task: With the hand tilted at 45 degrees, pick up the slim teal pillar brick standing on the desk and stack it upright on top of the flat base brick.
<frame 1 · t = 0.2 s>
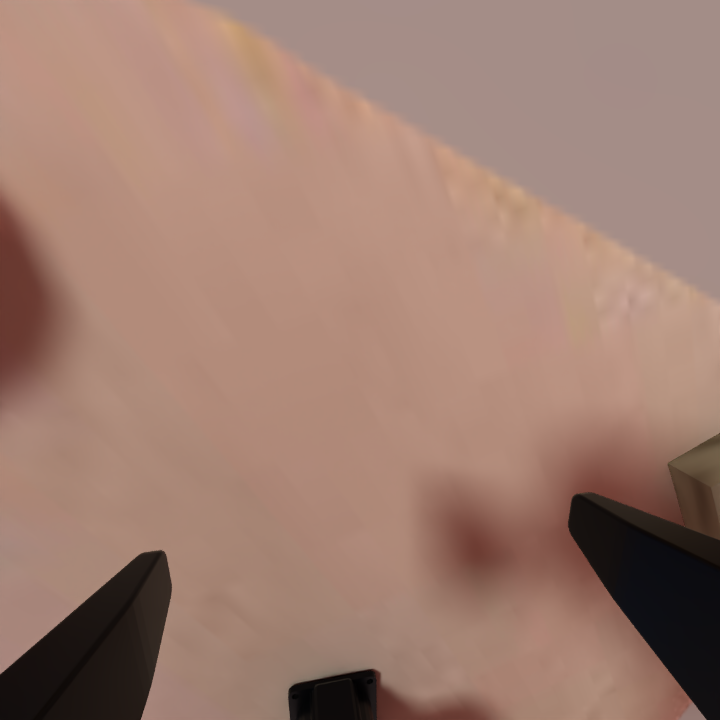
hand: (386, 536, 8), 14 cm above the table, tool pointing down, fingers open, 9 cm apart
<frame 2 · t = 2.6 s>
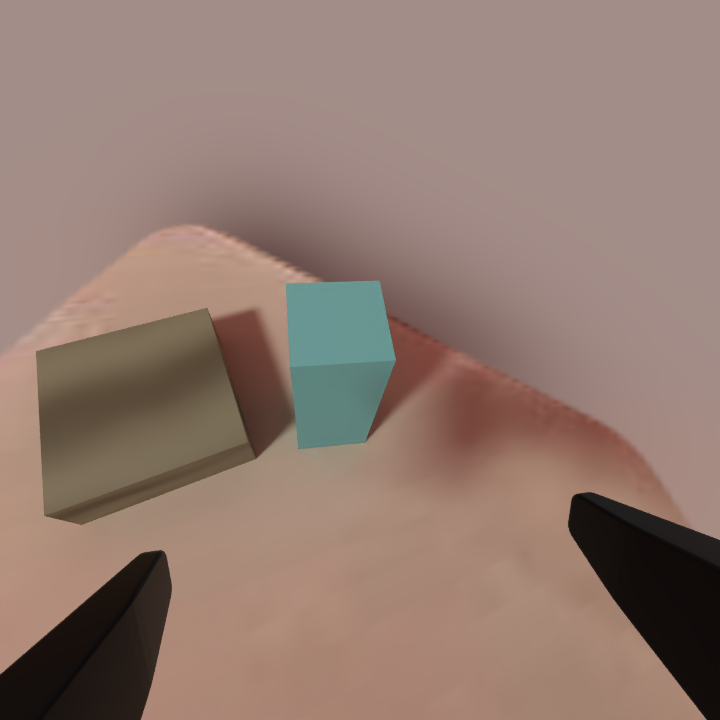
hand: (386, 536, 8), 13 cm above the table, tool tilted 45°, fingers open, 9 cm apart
pillar brick: (329, 414, 24), on the table
base brick: (161, 419, 23), on the table
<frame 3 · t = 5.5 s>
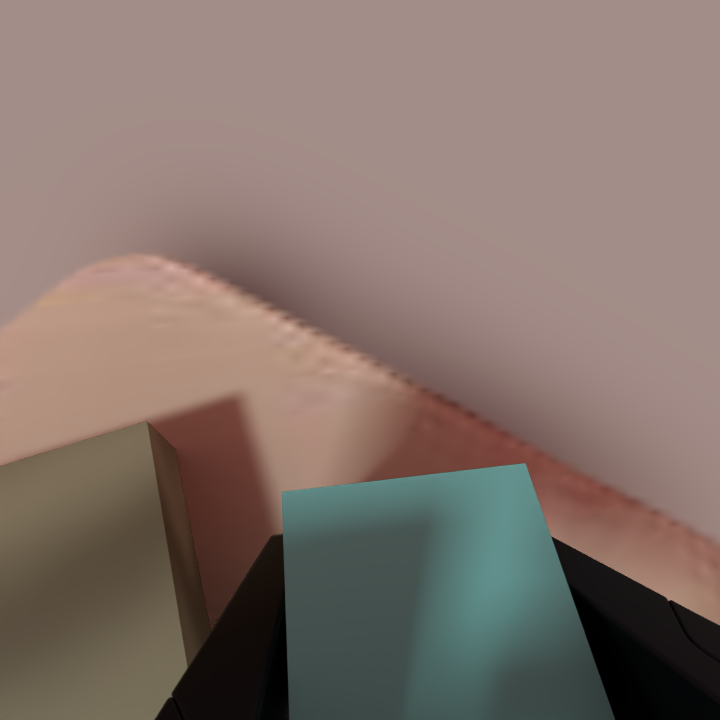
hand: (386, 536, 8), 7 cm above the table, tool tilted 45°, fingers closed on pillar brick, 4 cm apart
pillar brick: (359, 598, 14), on the table, touching gripper
base brick: (61, 622, 13), on the table
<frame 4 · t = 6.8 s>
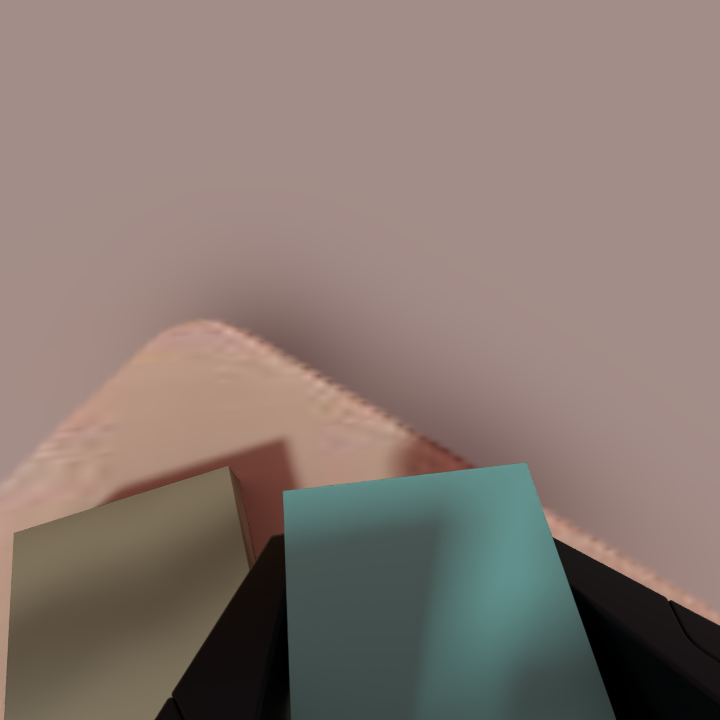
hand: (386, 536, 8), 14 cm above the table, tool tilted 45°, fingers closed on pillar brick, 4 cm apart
pillar brick: (360, 598, 14), point 6 cm above the table, touching gripper
base brick: (165, 601, 19), on the table
when the fingers open (11 cm above the table, at t = 8.3 s): pillar brick drops 1 cm, point 3 cm above the table.
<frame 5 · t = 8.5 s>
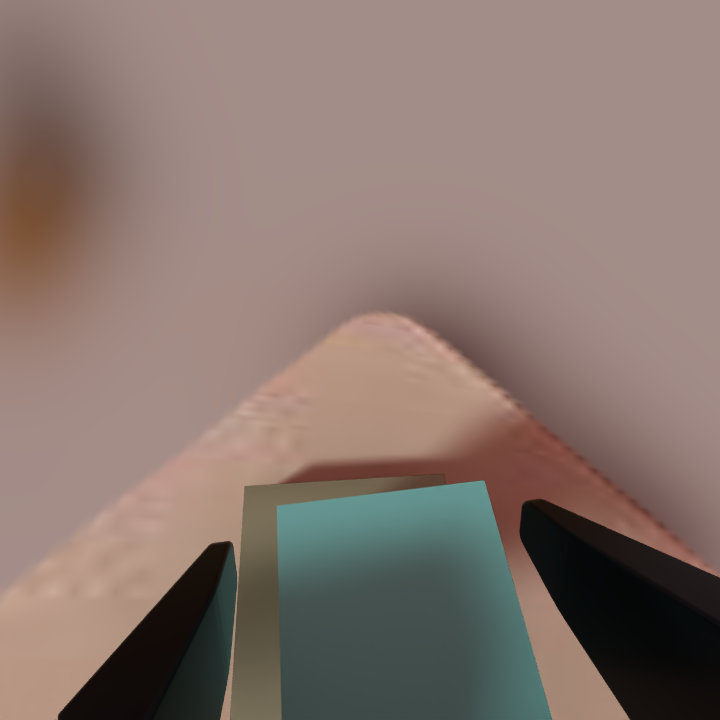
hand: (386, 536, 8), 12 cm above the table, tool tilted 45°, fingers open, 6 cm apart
pillar brick: (357, 595, 15), point 3 cm above the table
base brick: (348, 594, 18), on the table
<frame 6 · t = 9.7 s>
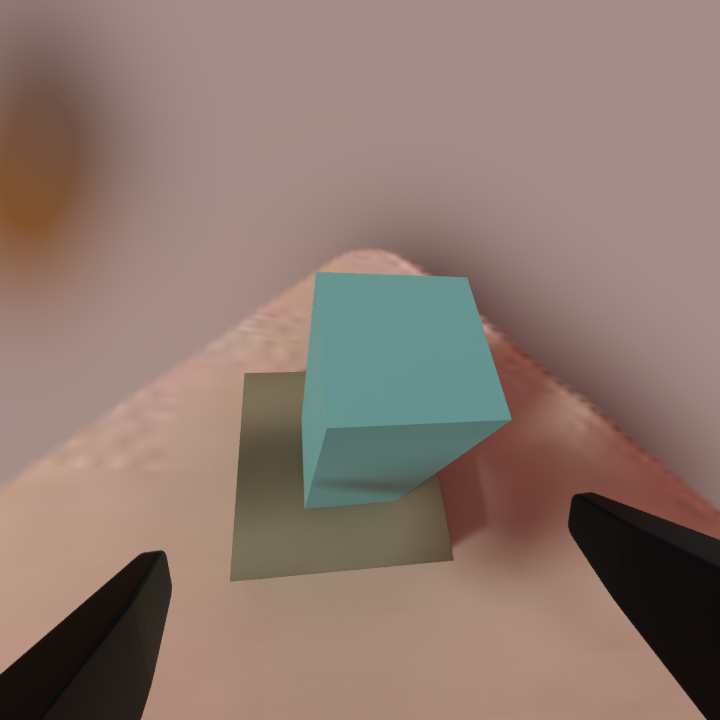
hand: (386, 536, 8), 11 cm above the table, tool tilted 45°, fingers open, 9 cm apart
pillar brick: (347, 458, 17), point 3 cm above the table
base brick: (335, 475, 20), on the table
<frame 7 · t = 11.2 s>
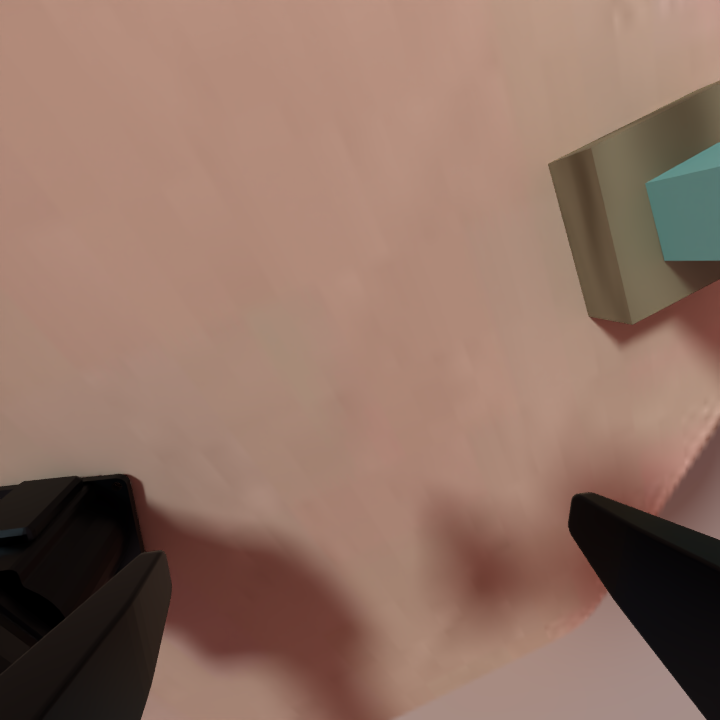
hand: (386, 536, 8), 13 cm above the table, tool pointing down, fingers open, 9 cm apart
pillar brick: (690, 203, 19), point 3 cm above the table, touching base brick
base brick: (631, 211, 22), on the table, touching pillar brick
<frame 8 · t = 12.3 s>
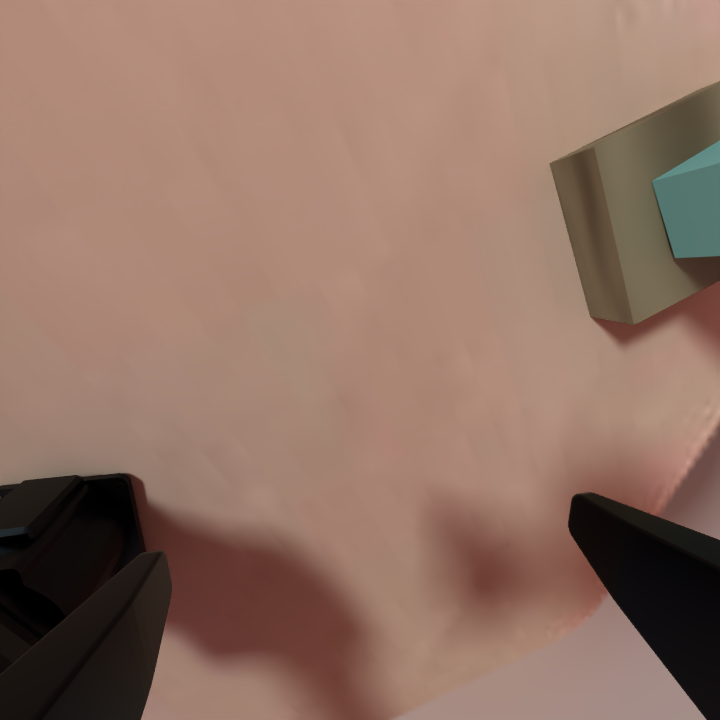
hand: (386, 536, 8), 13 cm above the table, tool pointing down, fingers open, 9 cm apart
pillar brick: (698, 200, 18), point 3 cm above the table
base brick: (633, 210, 22), on the table
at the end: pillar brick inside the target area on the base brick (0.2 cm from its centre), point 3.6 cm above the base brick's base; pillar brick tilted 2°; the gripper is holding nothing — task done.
